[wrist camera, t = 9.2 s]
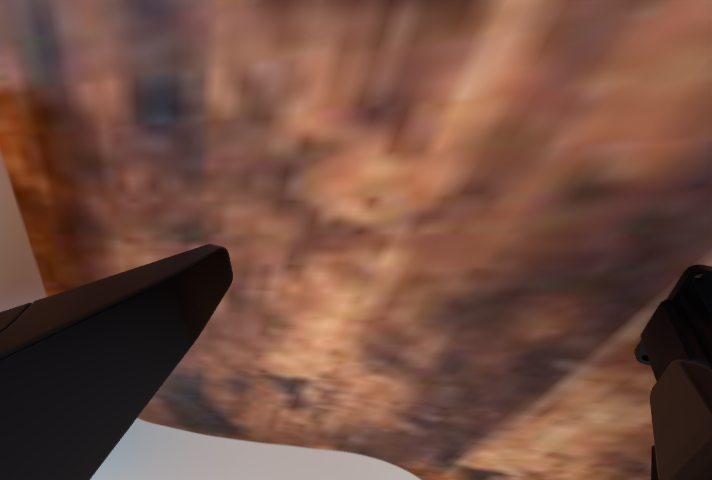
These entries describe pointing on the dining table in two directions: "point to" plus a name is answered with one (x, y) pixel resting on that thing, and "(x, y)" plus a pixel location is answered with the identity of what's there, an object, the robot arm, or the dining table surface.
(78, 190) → the dining table surface
